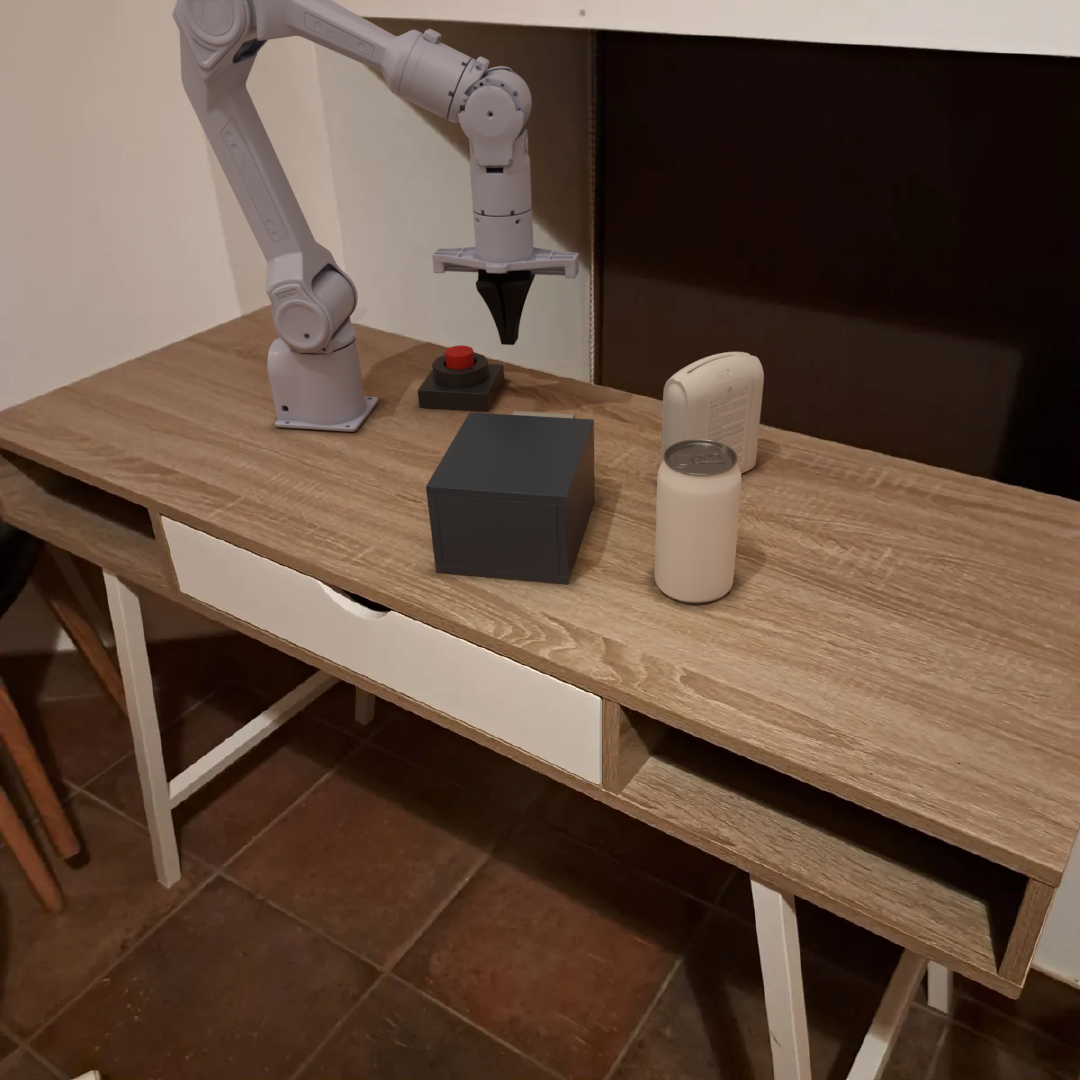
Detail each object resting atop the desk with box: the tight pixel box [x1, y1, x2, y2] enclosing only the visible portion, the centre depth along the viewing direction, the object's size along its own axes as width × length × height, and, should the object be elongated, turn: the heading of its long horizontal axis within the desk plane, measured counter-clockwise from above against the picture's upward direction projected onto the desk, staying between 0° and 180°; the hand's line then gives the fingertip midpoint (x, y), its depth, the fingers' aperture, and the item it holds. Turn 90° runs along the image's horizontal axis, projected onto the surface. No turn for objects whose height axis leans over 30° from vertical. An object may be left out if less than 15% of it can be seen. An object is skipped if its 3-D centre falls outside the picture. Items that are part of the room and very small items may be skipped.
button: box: [444, 344, 474, 369], centre depth 114 cm, size 3×3×2 cm
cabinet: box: [425, 411, 596, 585], centre depth 89 cm, size 14×12×9 cm
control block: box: [417, 351, 505, 412], centre depth 115 cm, size 8×8×4 cm
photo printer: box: [660, 351, 765, 475], centre depth 95 cm, size 10×4×12 cm, turn 123°
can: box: [654, 439, 742, 605], centre depth 81 cm, size 6×6×12 cm
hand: (509, 341), depth 105 cm, fingers closed
